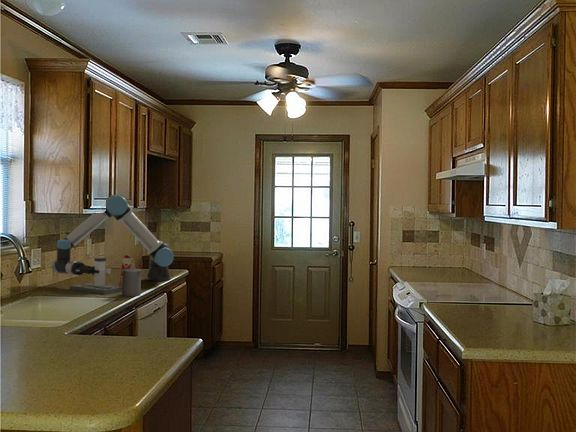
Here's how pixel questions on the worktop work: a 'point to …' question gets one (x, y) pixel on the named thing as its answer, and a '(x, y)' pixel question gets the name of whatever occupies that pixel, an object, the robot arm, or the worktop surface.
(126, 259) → the milk carton
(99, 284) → the white bottle
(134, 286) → the pillar candle
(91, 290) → the console
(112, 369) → the worktop surface
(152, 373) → the worktop surface
